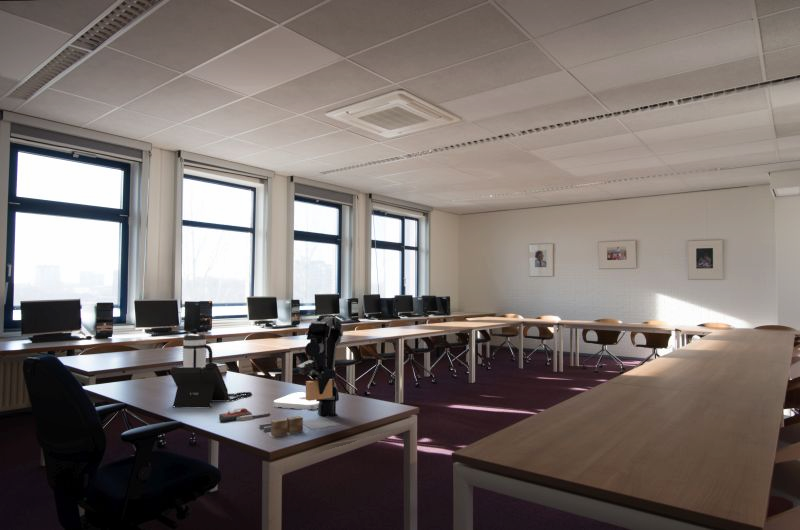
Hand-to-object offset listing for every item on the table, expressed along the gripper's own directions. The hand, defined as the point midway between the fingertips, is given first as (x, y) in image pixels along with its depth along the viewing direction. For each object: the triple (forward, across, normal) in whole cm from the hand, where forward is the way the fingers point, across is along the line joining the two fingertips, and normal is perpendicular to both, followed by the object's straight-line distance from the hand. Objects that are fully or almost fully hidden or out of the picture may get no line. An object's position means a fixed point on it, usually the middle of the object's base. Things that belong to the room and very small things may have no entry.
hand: (319, 393), depth 193 cm
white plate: (+13, -37, +10) cm, 40 cm away
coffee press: (+13, -124, -19) cm, 126 cm away
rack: (+12, -1, -15) cm, 19 cm away
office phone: (+13, -67, -23) cm, 72 cm away
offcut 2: (+12, +5, -12) cm, 17 cm away
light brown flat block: (+2, 0, 0) cm, 2 cm away
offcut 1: (+12, +5, -18) cm, 22 cm away
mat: (+12, 0, 0) cm, 12 cm away
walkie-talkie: (+13, -26, -22) cm, 36 cm away
